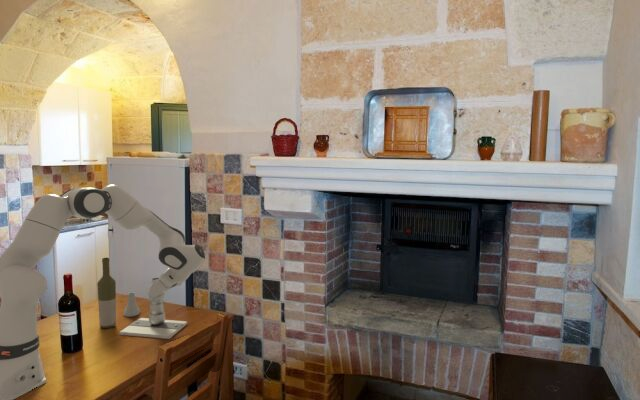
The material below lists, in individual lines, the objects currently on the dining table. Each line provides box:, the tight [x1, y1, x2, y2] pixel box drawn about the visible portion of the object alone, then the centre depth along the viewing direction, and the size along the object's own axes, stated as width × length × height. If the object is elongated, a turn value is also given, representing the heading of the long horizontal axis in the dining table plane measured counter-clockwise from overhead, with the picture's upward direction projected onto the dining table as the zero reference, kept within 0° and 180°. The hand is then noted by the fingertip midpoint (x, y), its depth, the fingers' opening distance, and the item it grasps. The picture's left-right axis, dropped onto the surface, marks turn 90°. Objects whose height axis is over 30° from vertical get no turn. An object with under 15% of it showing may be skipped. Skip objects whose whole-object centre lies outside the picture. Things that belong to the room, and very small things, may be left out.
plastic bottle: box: [147, 277, 166, 325], centre depth 191 cm, size 6×7×20 cm
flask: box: [122, 292, 141, 318], centre depth 206 cm, size 7×7×10 cm
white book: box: [119, 317, 188, 340], centre depth 190 cm, size 16×22×2 cm
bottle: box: [96, 257, 117, 329], centre depth 191 cm, size 7×7×30 cm
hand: (154, 296), depth 191 cm, fingers open, 8 cm apart
